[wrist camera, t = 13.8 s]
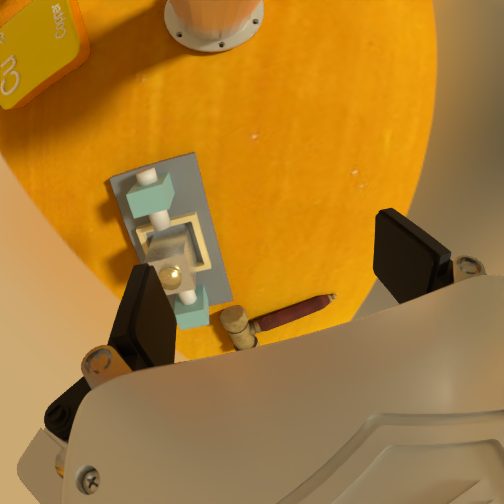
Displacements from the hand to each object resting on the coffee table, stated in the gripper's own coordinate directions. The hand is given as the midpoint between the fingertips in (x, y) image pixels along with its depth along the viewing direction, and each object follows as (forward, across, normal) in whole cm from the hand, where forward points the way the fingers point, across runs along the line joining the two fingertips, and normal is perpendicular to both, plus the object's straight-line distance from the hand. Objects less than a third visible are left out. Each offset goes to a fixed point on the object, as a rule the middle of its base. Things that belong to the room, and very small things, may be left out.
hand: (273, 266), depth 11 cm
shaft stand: (+28, +10, +11) cm, 32 cm away
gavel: (+29, -4, +30) cm, 42 cm away
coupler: (+27, +10, +11) cm, 31 cm away
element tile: (+29, +23, -25) cm, 45 cm away
